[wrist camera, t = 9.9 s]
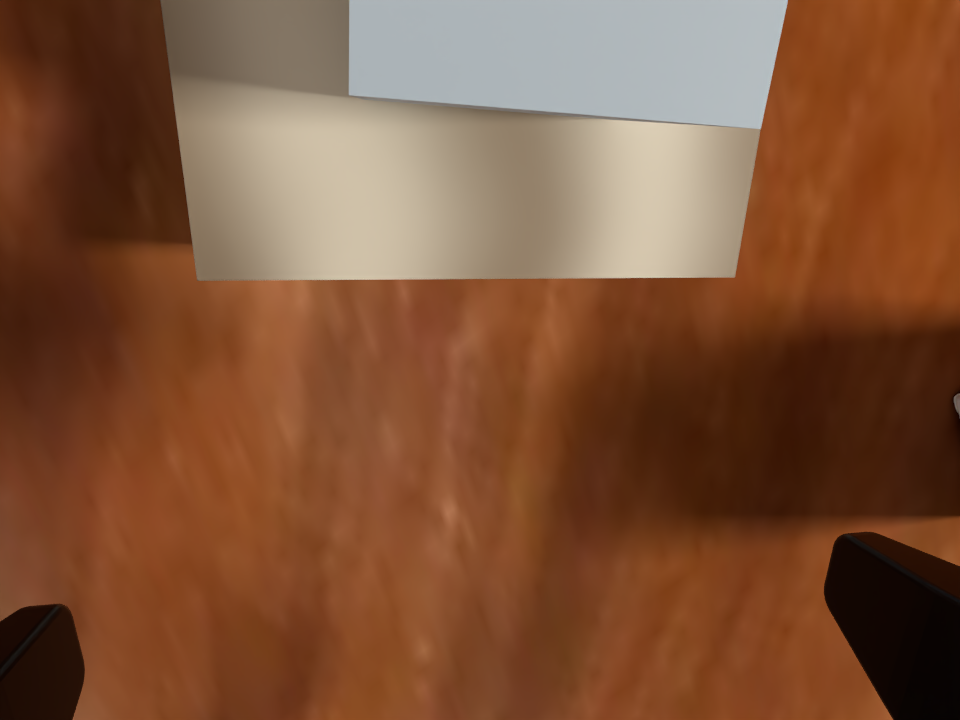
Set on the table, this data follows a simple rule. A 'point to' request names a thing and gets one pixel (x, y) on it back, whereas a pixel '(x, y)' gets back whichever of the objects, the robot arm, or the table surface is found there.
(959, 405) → the syrup box
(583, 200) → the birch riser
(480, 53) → the slate block
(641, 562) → the table surface
